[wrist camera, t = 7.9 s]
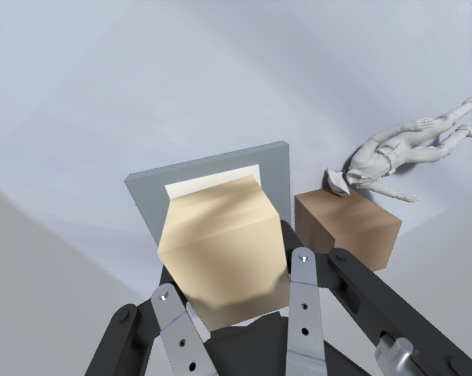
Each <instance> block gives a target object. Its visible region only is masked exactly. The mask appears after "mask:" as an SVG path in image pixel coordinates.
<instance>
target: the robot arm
mask: <svg viewBox="0 0 472 376" xmlns="http://www.w3.org/2000/svg"><path fill="white" fill-rule="evenodd" d="M280 224H281V230H282V237H283V243H284V250H285V256H286V262H287V269H288V274H291V281H290V299H289V317H281V315H280V313H279V311H278V312H274V313H271V314H267V315H264V316H262V317H260V318H259V319H257V320H256V321H254V322H253V323H251V324H249V325H248V326H242V327H241V326H239V327H238V326H227V327H224V328H220V329H217V330H214V331H210V335H211V338H210V339H208V340H207V341H206V342H204V343H203V341H202V339H201V337H200V335H199V334H198V332H197V330H196V328H195V326H194V324H193V322H192V320H191V318H190V316H189V314H188V312H187V310H186V302H189V301H188V300H187V298H186V297H185V295H184V294H183V292H182V291H181V289H180V288H179V286H178V285H177V283H176V282H175V280H174V279H173V277H172V276H171V274H170V273H169V271H168V270H167V268H166V267H165V265H164V264H163V269H162V274H161V279H160V284H159V287H158V288H157V289H156V290H155V291H154V292H153V294H152V296H151V298H150V299H149V300H147V301H145V302H144V303H142V304H140V305H139V306H137V307H136V306H135V305H134V304H127V305H124V306H123V307H121V308H120V309H119V310H118V311H117V312H116V313H115V314H114V315H113V317H112V319H111V321H110V323H109V325H108V327H107V329H106V331H105V334H104V336H103V338H102V340H101V342H100V344H99V346H98V348H97V350H96V352H95V354H94V357H93V359H92V361H91V363H90V365H89V367H88V369H87V371H86V373H85V376H144V375H145V371H146V368H147V364H148V360H149V356H150V353H151V349H152V345H153V341H154V338H156V337H157V336H159V335H161V338H162V341H163V344H164V347H165V350H166V353H167V356H168V359H169V362H170V365H171V368H172V371H173V373H174V376H371V375H370V374H369V373H367V372H366V371H365V370H363V369H362V368H361V367H359V366H358V365H357V364H355V363H354V362H353V361H351V360H350V359H349V358H347V357H346V356H345V355H344V354H342V353H341V352H340V351H338V350H337V349H335V348H334V347H333V346H332V345H330V344H329V343H328V342H326V341H325V340H323V331H322V319H321V308H320V297H319V287H321V288H329V290H330V291H331V292H332V293H333V295H334V296H335V297H336V298H337V300H338V301H339V302H340V303H341V304H342V306H343V307H344V308H345V309H346V311H347V312H348V313H349V314H350V316H351V317H352V318H353V319H354V321H355V322H356V323H357V324H358V326H359V327H360V328H361V329H362V331H363V332H364V333H365V334H366V336H367V337H368V338H369V339H370V340H371V342H372V343H373V344H374V345H375V347H376V350H375V358H376V361H377V363H378V366H379V367H380V369H381V370H382V372H383V374H384V376H472V359H471V358H469V357H468V356H467V355H466V354H465V353H464V352H463V351H462V350H460V349H459V348H458V347H457V346H456V345H455V344H454V343H453V342H451V341H450V340H449V339H448V338H447V337H445V336H444V335H443V334H442V333H441V332H440V331H439V330H438V329H437V328H435V327H434V326H433V325H432V324H431V323H430V322H429V321H428V320H426V319H425V318H424V317H423V316H422V315H421V314H420V313H419V312H417V311H416V310H415V309H414V308H413V307H412V306H411V305H409V304H408V303H407V302H406V301H405V300H404V299H403V298H402V297H400V296H399V295H398V294H397V293H396V292H395V291H393V290H392V289H391V288H390V287H389V286H388V285H387V284H385V283H384V282H383V281H382V280H381V279H380V278H379V277H378V276H377V275H375V274H374V273H373V272H372V271H371V270H370V269H369V268H367V267H366V266H365V265H364V264H363V263H362V262H361V261H360V260H358V259H357V258H356V257H355V256H354V255H353V254H352V253H350V252H349V251H348V250H346V249H343V248H332V249H331V250H330V251H329V254H326V253H314V252H312V251H311V250H310V249H308V248H305V246H304V245H303V244H302V242H301V241H300V239H299V238H298V236H297V235H296V233H295V232H294V230H293V229H292V228H291V226H290V225H289V223H288V222H286V221H285V220H280Z"/></svg>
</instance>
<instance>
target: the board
mask: <svg viewBox="0 0 472 376" xmlns="http://www.w3.org/2000/svg"><path fill="white" fill-rule="evenodd" d="M248 175H253V176H254V178H255V179H256V181H257V182H258V184H259V185H260V187H261V188H262V190H263V191H264V193H265V195H266V196H267V198H268V199H269V201H270V202H271V204H272V205H273V207H274V208H275V210H276V211H277V213H278V214H279V218H280V220H285V221H286V222H288V223H289V225H290V226H291V211H290V169H289V144H287V143H285V142H284V141H279V142H275V143H270V144H266V145H261V146H256V147H252V148H247V149H243V150H238V151H234V152H229V153H224V154H220V155H215V156H211V157H206V158H202V159H197V160H192V161H188V162H183V163H179V164H174V165H170V166H165V167H160V168H156V169H151V170H147V171H142V172H138V173H133V174H129V176H128V177H127V178H126V179H125V180H124V182H125V184H126V186H127V188H128V190H129V192H130V194H131V196H132V198H133V199H134V201H135V203H136V205H137V207H138V209H139V211H140V213H141V215H142V217H143V219H144V221H145V223H146V225H147V226H148V228H149V230H150V232H151V234H152V236H153V238H154V240H155V242H156V244H157V246H158V248H159V244H160V240H161V236H162V232H163V228H164V224H165V220H166V216H167V212H168V208H169V204H170V200H171V199H173V198H176V197H179V196H183V195H186V194H189V193H193V192H196V191H199V190H202V189H206V188H209V187H212V186H216V185H219V184H222V183H225V182H229V181H232V180H235V179H239V178H242V177H245V176H248Z"/></svg>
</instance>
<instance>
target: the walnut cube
mask: <svg viewBox="0 0 472 376" xmlns="http://www.w3.org/2000/svg"><path fill="white" fill-rule="evenodd" d="M347 187H348V186H347ZM348 190H349V193H350V195H340V194H337V193H335V192H333V191H332V190H331V187H327V188H323V189H319V190H315V191H311V192H307V193H303V194H299V195H295V196H294V197H295V233H296V235H297V236H298V238H299V239H300V241H301V242H302V244H303V245H304V246H305V248H308V249H310V250H311V251H312V252H314V253H326V254H329V251H330V250H331V249H332V248H343V249H346V250H348V251H349V252H350V253H352V254H353V255H354V256H355V257H356V258H357V259H358V260H360V261H361V262H362V263H363V264H364V265H365V266H366V267H367V268H369V269H370V270H371V271H372V272H374V271H377V270H381V269H383V268H386V266H387V262H388V260H389V257H390V254H391V252H392V249H393V246H394V243H395V240H396V238H397V235H398V232H399V229H400V226H401V223H402V220H400V219H398V218H397V217H395V216H394V215H392V214H391V213H389V212H387V211H386V210H384V209H383V208H381V207H379V206H378V205H376V204H375V203H373V202H372V201H370V200H368V199H367V198H365V197H364V196H362V195H360V194H359V193H357V192H356V191H354V190H352V189H351V188H349V187H348Z"/></svg>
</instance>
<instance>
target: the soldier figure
mask: <svg viewBox="0 0 472 376" xmlns="http://www.w3.org/2000/svg"><path fill="white" fill-rule="evenodd" d="M471 110H472V97H471V98H469V99H467V100H466V101H464V102H463V104H462V105H461V106H460V107H458V108H456V109H454V110H452V111H450V112H448V113H446V114H445V115H444V116H443V117H441V118H439V119H437V120H435V121H434V120H428V119H431V118H423V119H417V120H414V121H412V122H409V123H406V124H403V125H401V124H399V125H397V126H395V127H393V128H390V129H387V130H385V131H382V132H380V133H378V134H376V135H374V136H373V137H370V138H369V139H368V141H367V142H366V143H365V144H364V145H363V146H362V147H361V149H359V150H358V152H356V153H355V155H353V158H352V161H351V164H350V167H349V168H348V169H349V171H348V172H347V173H345V172H344V174H346V179H347V181H348V182H349V183H350V184H352V183H353V184H354V186H355V187H356V188H362V189H369V190H372V191H374V192H377V193H380V194H383V195H386V196H389V197H392V198H397V199H399V200H403V201H406V202H416V201H418V200H417V199H419V198H414V197H417V196H408V195H404V194H398V193H397V191H395V190H393V189H391V188H389V187H387V186H385V185H383V184H381V183H378V182H376V180H377V179H378V178H380V177H385V176H388V175H390V174H392V173H393V172H394V171H396V170H395V168H398V166H400V165H402V164H404V163H425V162H434V161H438V160H440V159H441V158H444V157H445V156H447V155H449V154H451V151H452V150H453V148H454V147H455V146H456V145H457V144H458V143H459V142H460V141H461V140H462V139H464V138H465V137H472V128H471V127H470V126H469V125H466V124H463V125H461V126H460V127H458V128H457V129H456V130H455V131H456V132H453V133H452V134H450V135H449V136H448V137H447V138H445V139H444V140H443V141H442V142H441V143H439V144H438V145H437V146H436V147H434V146H429V147H424V146H417V145H420V144H422V143H424V142H426V141H428V140H430V139H432V138H434V137H436V136H438V135H440V134H441V133H443V132H445V131H447V130H449V129H450V128H451V127H452V126H454V125H455V124H456V121H457V120H458V119H460V118H461V117H462V116H463V115H465V114H467V113H468V112H469V111H471ZM432 121H433V122H432ZM425 122H429V123H425ZM395 136H396V137H395ZM381 143H382V144H381ZM379 144H381V145H380V146H379V147H378V148H377V149H376V147H377V146H378V145H379ZM375 150H376V151H375ZM343 171H344V170H343ZM327 173H328V176H327V179H328V183H329V186H330V187H331V190H332V191H333V192H335V193H337V194H340V195H350V193H349V190H348V187H347V185H346V183H345V181H344V180H343V178H342V174H343V172H339V171H337V172H334V171H332V170H331V169H330V168H327ZM349 186H350V185H349Z"/></svg>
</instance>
